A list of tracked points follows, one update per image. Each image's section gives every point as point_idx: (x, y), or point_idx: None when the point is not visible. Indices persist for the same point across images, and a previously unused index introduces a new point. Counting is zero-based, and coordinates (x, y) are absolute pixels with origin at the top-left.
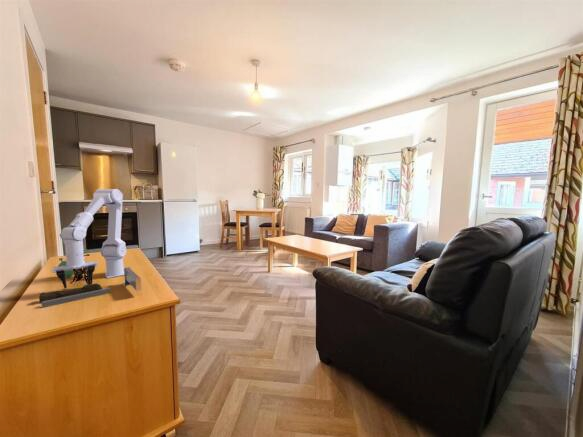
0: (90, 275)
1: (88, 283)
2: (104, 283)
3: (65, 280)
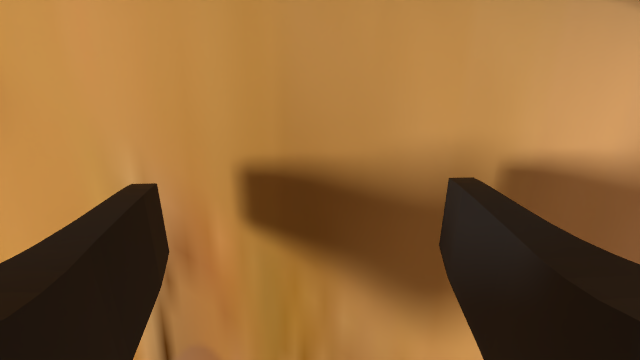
0: (33, 259)
1: (152, 186)
2: (3, 252)
3: (484, 315)
